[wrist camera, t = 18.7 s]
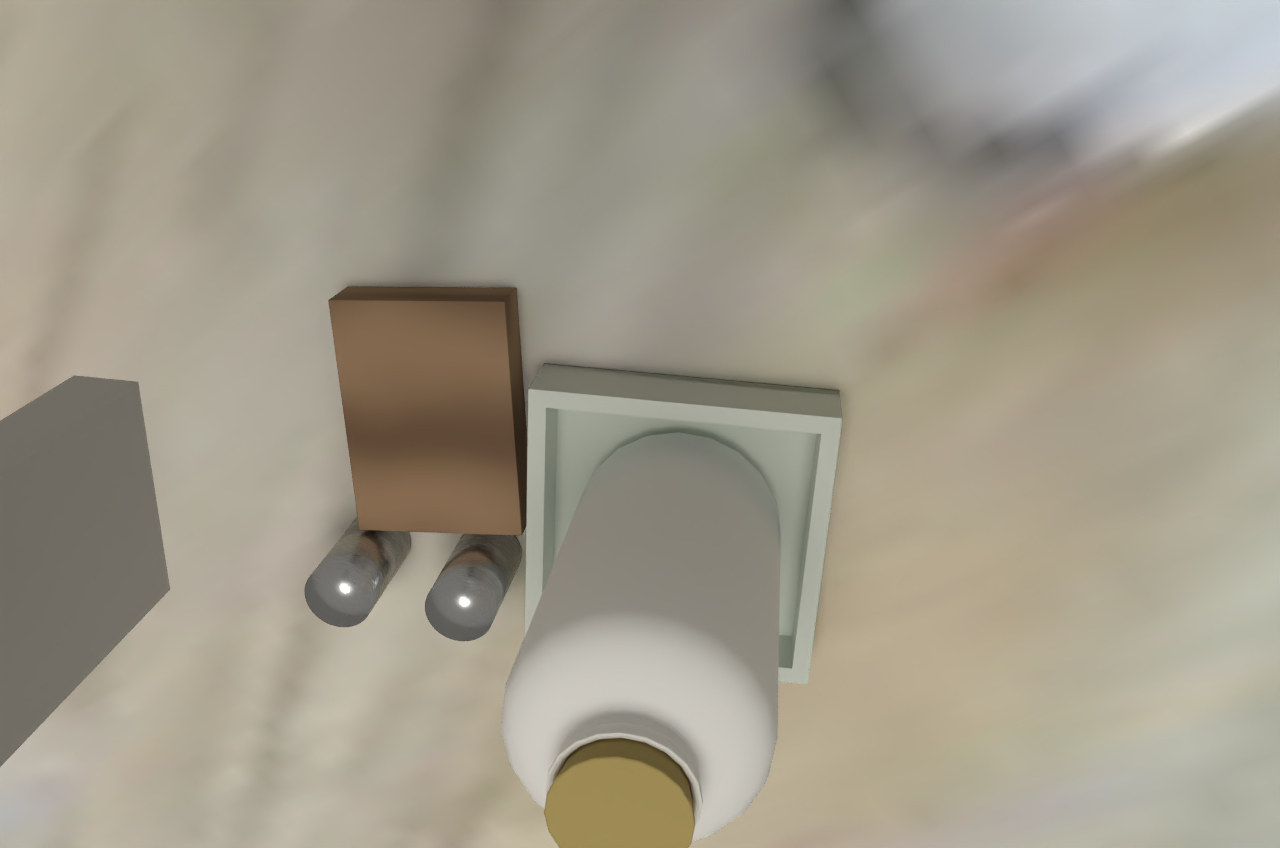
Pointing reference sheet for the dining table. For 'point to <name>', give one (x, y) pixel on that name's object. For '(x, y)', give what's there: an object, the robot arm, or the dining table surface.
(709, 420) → the tray
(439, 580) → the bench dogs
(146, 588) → the robot arm
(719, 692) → the potion bottle
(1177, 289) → the dining table surface
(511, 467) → the tan wooden board
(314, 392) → the dining table surface
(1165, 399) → the dining table surface
